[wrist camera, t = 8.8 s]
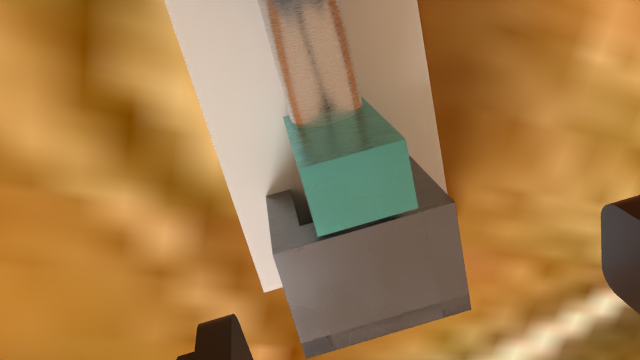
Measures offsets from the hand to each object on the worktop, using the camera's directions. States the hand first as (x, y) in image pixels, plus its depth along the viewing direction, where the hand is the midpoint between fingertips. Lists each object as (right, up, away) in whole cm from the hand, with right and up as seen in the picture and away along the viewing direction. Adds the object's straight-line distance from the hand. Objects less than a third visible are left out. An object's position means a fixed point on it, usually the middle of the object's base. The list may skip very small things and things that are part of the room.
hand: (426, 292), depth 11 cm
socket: (-1, +1, +15) cm, 15 cm away
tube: (-2, +6, +11) cm, 13 cm away
